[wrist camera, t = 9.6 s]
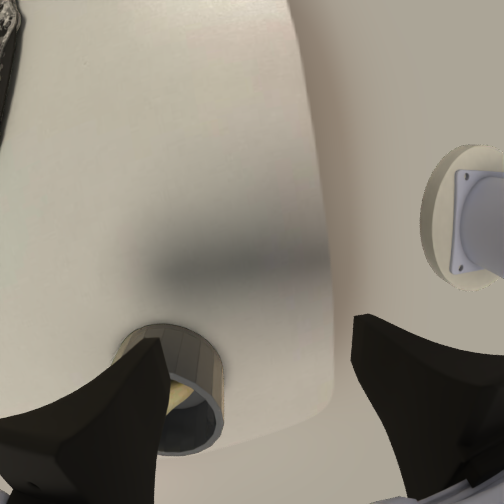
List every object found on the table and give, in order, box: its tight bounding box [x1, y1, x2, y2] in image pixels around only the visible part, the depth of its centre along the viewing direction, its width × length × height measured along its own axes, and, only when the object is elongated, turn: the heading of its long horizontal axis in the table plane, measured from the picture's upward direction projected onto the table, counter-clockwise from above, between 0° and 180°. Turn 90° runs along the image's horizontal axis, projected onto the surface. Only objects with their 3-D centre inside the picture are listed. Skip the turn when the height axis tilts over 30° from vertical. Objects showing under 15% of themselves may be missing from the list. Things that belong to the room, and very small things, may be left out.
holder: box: [111, 324, 224, 456], centre depth 20 cm, size 8×8×6 cm
